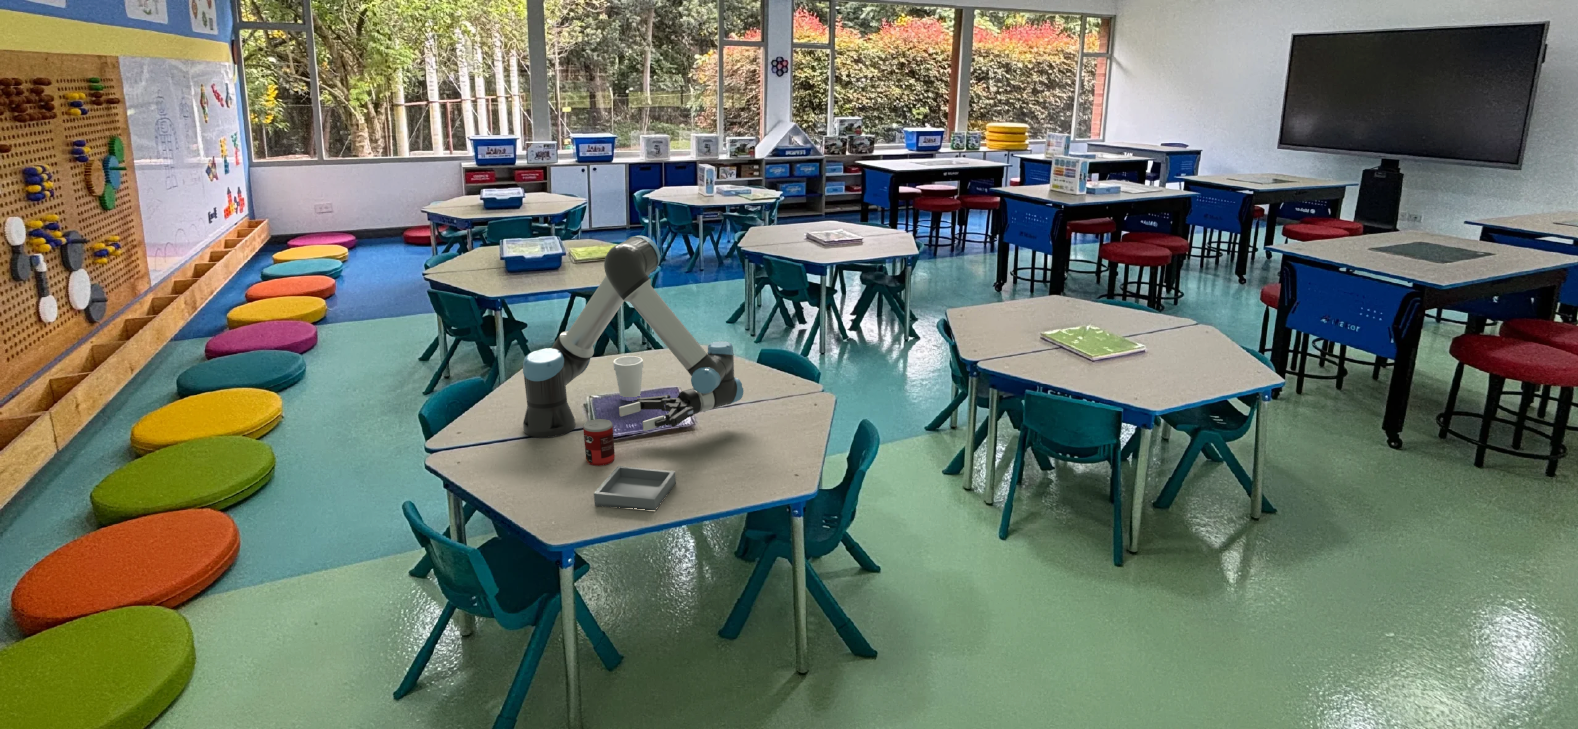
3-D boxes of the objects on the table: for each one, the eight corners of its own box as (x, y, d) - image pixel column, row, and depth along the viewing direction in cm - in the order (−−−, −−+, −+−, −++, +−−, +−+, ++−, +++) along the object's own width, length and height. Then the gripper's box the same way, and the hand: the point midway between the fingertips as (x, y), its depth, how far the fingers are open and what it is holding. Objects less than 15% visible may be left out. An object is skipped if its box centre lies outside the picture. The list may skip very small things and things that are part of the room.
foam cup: (638, 404, 295) (636, 366, 290) (611, 402, 296) (608, 364, 292) (648, 393, 303) (646, 356, 299) (622, 391, 305) (619, 354, 301)
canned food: (587, 455, 259) (584, 419, 255) (616, 454, 260) (613, 418, 256) (584, 467, 252) (581, 430, 248) (613, 466, 253) (611, 429, 249)
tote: (594, 505, 231) (593, 493, 230) (618, 477, 246) (617, 465, 245) (655, 512, 228) (654, 499, 227) (675, 483, 243) (675, 471, 241)
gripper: (719, 425, 262) (654, 445, 250) (673, 400, 281) (611, 418, 269) (718, 400, 260) (652, 419, 247) (672, 377, 278) (609, 394, 266)
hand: (631, 419), depth 258 cm, fingers open, 13 cm apart
